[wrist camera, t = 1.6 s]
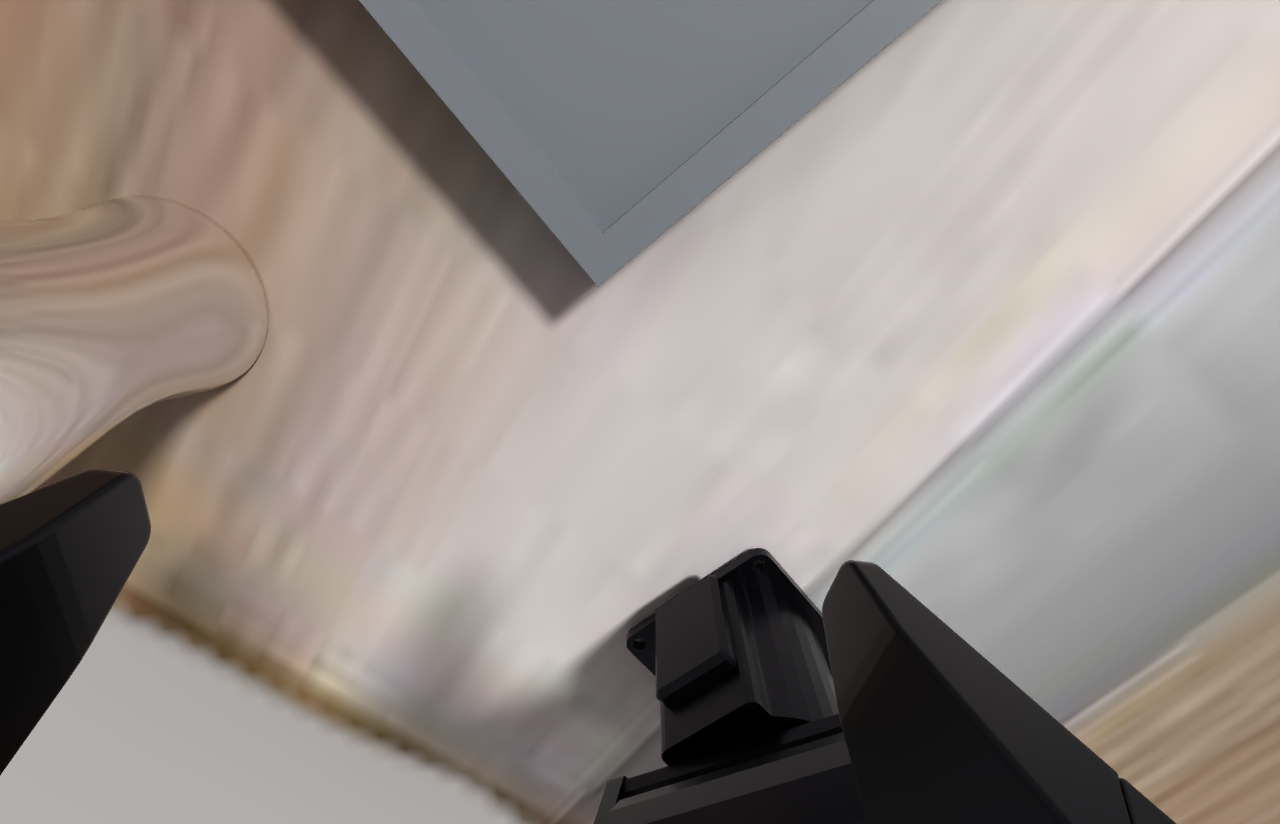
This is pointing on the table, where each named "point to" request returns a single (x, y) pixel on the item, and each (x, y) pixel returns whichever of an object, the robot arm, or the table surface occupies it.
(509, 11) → the grey tray
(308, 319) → the table surface
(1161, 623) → the table surface
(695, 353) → the table surface
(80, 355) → the silver metal cup
